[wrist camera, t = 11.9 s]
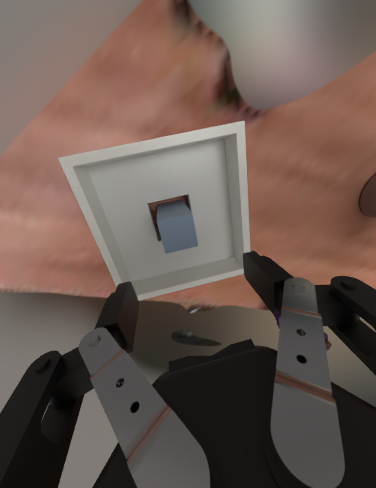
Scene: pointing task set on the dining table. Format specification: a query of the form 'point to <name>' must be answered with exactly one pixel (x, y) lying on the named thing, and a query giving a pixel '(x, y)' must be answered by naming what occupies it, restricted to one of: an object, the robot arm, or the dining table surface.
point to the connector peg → (176, 226)
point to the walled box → (160, 188)
